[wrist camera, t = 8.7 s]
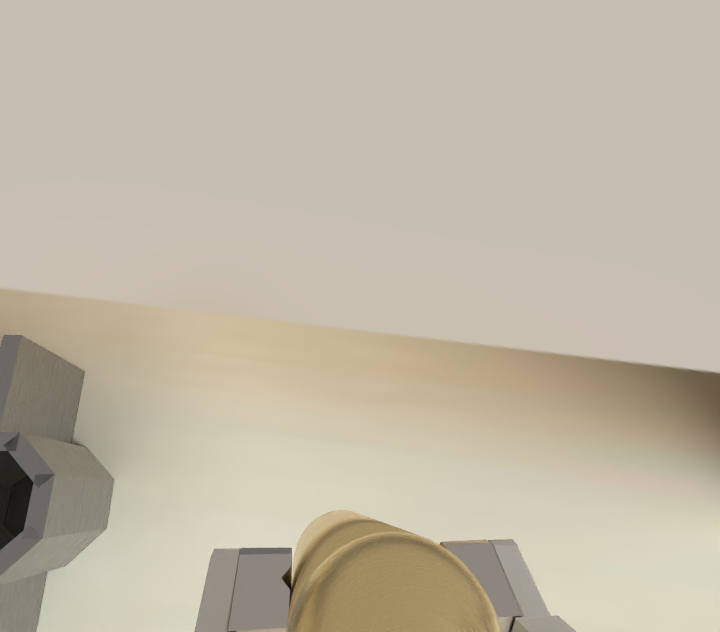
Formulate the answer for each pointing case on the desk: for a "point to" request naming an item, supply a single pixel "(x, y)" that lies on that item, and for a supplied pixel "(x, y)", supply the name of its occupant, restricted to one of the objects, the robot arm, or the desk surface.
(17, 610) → the octagonal sleeve with tab
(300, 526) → the desk surface
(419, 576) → the brass pin
